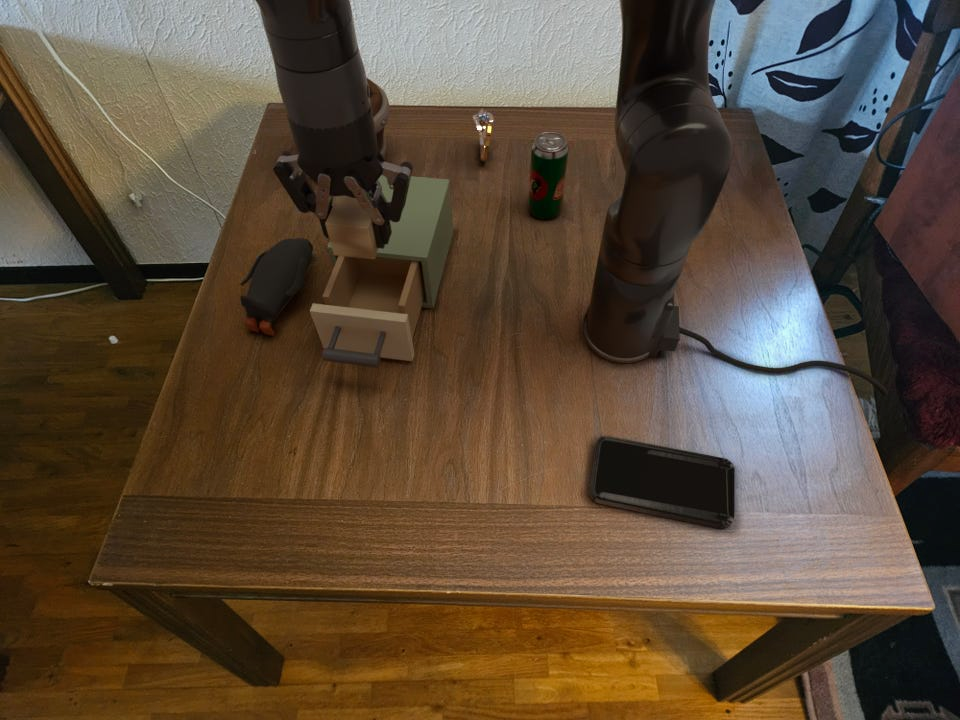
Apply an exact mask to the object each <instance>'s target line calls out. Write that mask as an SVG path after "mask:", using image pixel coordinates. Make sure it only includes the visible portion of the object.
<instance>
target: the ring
mask: <svg viewBox="0 0 960 720" xmlns="http://www.w3.org/2000/svg"><path fill="white" fill-rule="evenodd" d="M472 119H473V121H474V124H475V126H476V128H477V132H478V137H479V145H480V146H479V149H480V150H479V151H480V162H487V158H488V152H489V148H490V142H491V141H490V140H491V133H492V125H493V123H494V119H495V118H494V115H493V114H492V113H490V112H488V110H485V109H484V108H481V109H479V111H477V114H474V115H472Z"/></svg>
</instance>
